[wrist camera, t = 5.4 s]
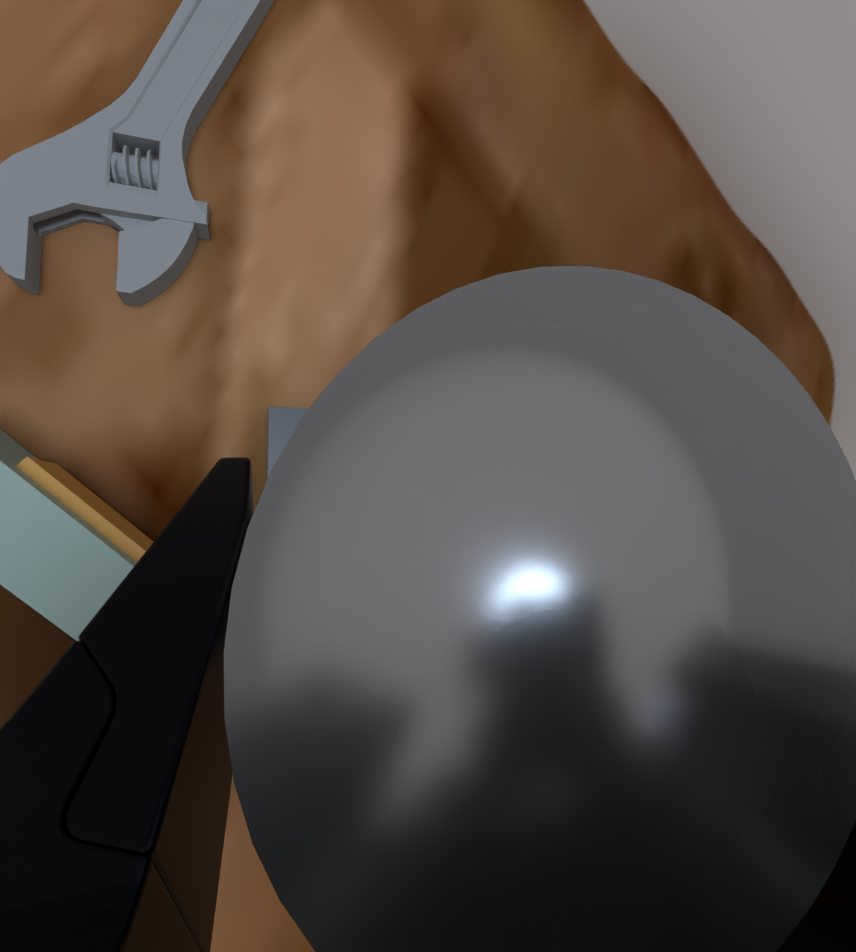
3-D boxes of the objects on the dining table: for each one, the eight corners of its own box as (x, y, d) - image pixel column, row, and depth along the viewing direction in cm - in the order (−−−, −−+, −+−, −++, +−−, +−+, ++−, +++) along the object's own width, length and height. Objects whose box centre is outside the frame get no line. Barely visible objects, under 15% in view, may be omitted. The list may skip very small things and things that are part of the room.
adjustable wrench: (301, -161, 24) (304, -212, 22) (417, -62, 25) (428, -103, 24) (-31, 254, 18) (-60, 228, 17) (142, 348, 20) (131, 333, 18)
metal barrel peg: (444, 531, 15) (960, 560, 4) (352, 655, 14) (700, 1202, 3) (331, 435, 15) (564, 121, 3) (223, 558, 13) (-23, 769, 2)
